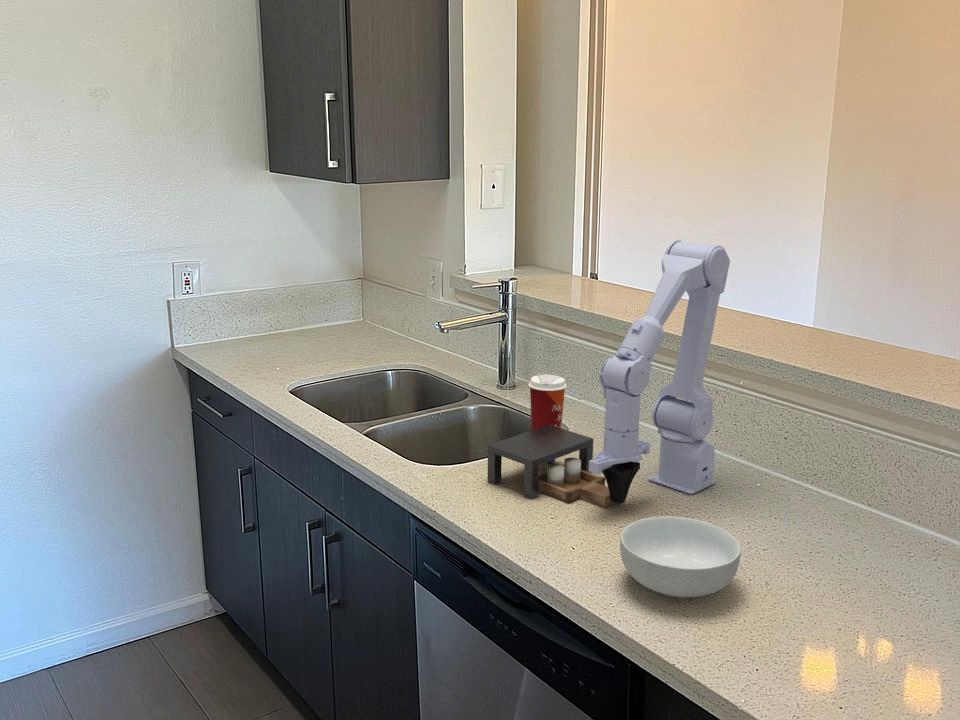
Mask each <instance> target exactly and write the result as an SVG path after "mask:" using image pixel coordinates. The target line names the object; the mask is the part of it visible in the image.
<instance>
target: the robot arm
mask: <svg viewBox="0 0 960 720" xmlns="http://www.w3.org/2000/svg"><path fill="white" fill-rule="evenodd" d="M730 263H731V260H730V258H729V255H728V253H727V251H726V249H725V248H724V246H723V245H720V244H716V245H711V244H704V243H697V242H696V243H695V242H689V241H682V240H678V239H675V240H673V241H672V242H670V244H669V245H668V246H667V248H666V249H665V252H664V255H663V257H662V258H661V270H662V276H661V278H660V280H659V283H658V284H657V287H656V289H655V291H654V294H653V296H652V298H651V301H650V302H649V305H648V306H647V309H646V312H645V314H644V316H642V317H640V318H639V317H638V318H636V319H635V320H634V321H633V322H632V323H631V324H632V325H631V326H630V328H629V330H628V332H627V334H626V335H625V337H624V340H623V341H622V343H621V344H620V346H619V347H618V350H617V351H616V354H615V355H612V356H611V357H609V358H608V359H606V360H605V361H604V362H603V363H602V365H601V370H600V373H599V374H598V379H599V383H600V385H601V387H602V396H603V398H604V399H605V407H604V429H603V430H604V431H603V433H604V434H603V449H602V450H601V451H600V452H598V454H597V455H596V456H594V457H593V459H592V460H590V461H589V472H592V473H593V474H596V475H600V474H602V475H603V477H604V478H605V483H606V485H607V487H608V489H609V493H610V498H611V501H612V502H615V504H618V505H622V504H624V503H626V499H627V497H628V494H629V491H630V488H631V484H632V483H633V480H634V478H635V477H636V475H637V473H638V471H640V469H641V463H640V462H641V461H642V460H643V456H642V454H644V455H648V454H650V450H651V442H648V441H644V440H641V439H640V440H639V433H640V431H639V430H640V413H641V412H640V409H641V394H642V393H643V392H644V391H645V389H646V388H647V387H648V385H649V382H650V377H651V376H650V375H651V370H652V366H653V365H652V361H653V359H654V357H655V355H656V353H657V352H658V350H659V348H660V346H661V344H662V342H663V340H664V339H665V337H666V336H665V335H666V334H665V330H664V324H665V323H666V322H667V320H668V319H669V317H670V316H671V314H672V312H673V311H674V309H675V308H676V307H677V305H678V303H679V301H681V299H682V298H683V296H684V294H685V293H687V295H688V301H687V307H686V311H685V312H686V313H685V317H684V322H683V327H682V333H681V337H680V342H679V343H680V344H679V349H678V353H677V359H676V364H675V369H674V374H673V380H672V381H671V382H669V383H668V384H666V385H664V386H663V387H661V388H660V389H659V393H658V397H657V399H656V401H655V404H654V405H653V408H652V412H651V419H652V423H653V425H654V426H655V428H657V434H659V435H660V443H659V444H660V445H659V447H660V448H659V461H658V473H656V474H654V475H651V476H649V477H648V481H650V482H653V483H655V484H659V485H661V486H662V485H663V486H664V487H668V488H671V489H674V490H676V491H679V492H682V493H686V494H688V495H693V494H696V493H697V492H700V491H702V490H704V489H706V488H708V487H710V486H712V485H714V484H715V483H716V480H714V468H715V456H716V452H715V448H714V445H713V444H712V443H710V442H707V441H706V440H704V439H705V438H706V437H707V436H708V435H709V433H710V432H711V429H712V428H713V424H714V415H713V412H714V411H713V409H714V407H713V406H714V403H715V402H714V399H713V397H712V396H711V395H710V394H709V393H708V391H707V390H706V389H705V388H704V386H703V383H704V378H705V373H706V369H707V363H708V358H709V354H710V353H709V352H710V348H711V343H712V337H713V334H714V327H715V323H716V318H717V312H718V307H719V301H720V298H721V294H724V292H725V289H726V285H727V284H726V282H727V279H728V274H729V269H730Z"/></svg>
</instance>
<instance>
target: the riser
mask: <svg viewBox="0 0 960 720" xmlns="http://www.w3.org/2000/svg"><path fill="white" fill-rule="evenodd" d="M574 452H578V459H580V460H581V470H584V471H587V472H589V461H590V460H592V459H594V457H593V455H594V438H593V437H590V436H586V435H583V434H580V433H577V432H573V431H571V430H568V429H564V428H562V427H561V428H558V427H555V426H552V425H546V426H543V427H540V428H537V429H534V430H532V429H531V430H529V431H526V432H523V433H519V434H517V435H516V434H515V435H513V436H511V437H508V438H504V439H501V440H499V441H496V442H493V443H490V444H487V483H490V484H492V485H497V484H500V483H502V464H503V462H502V460H503V459H502V458H506V459H508V460H511V461H514V462H516V463H519V464H522V465H524V477H523V478H524V480H523V481H524V482H523V483H524V487H523V488H524V489H523V497H524V498H526V499H527V498H528V499H529V500H533V499H536V498H538V497H539V493H540V492H539V475H540V465H542V464H548V465H550V464H554V463H555V462H556V459H558V458H561V457H564V456H567V455H569V454H572V453H574ZM590 473H592V472H590Z"/></svg>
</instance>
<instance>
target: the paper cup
mask: <svg viewBox="0 0 960 720" xmlns="http://www.w3.org/2000/svg"><path fill="white" fill-rule="evenodd" d="M565 380H566V379H565V378H564V377H562V376H558V375H555V374H554V375H553V374H537V375H534V376H532V377H531V378H530V381H529V383H528V387H529V392H530V393H529V395H530V416H531V417H530V419H531V426H530V427H531V430H534V429H537V428H540V427H543V426H546V425H552V426H555V427H558V428H562V424H563V414H564V413H563V411H564V402H565V390H566V388H567V383H566V381H565Z"/></svg>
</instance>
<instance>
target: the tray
mask: <svg viewBox="0 0 960 720" xmlns="http://www.w3.org/2000/svg"><path fill="white" fill-rule="evenodd" d="M563 463H564V464H563V465H562V464H560V463H550V464H548V465H547V472H544V473H542V474H539V493H540V494H544V495H545V496H549V497H552V498H554V499H556V500H559V501H562V502H564V503H567V504H571V503H574V502H575V501H578V500H581V501H585V502H587V503H590V504H592V505H595V506H597V507H600V508H603V509H606V508H608V507H610V506H612V505H614V504H616V503H615V502H612V501H611V498H610V493H609V489H608V486H606V479H605V477H604V476H601V475H599V474H595V473H590V472H587V471H584V470H581V460H580V459H579V457H578V458H577V457H567V458H565V459H564V462H563Z"/></svg>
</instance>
